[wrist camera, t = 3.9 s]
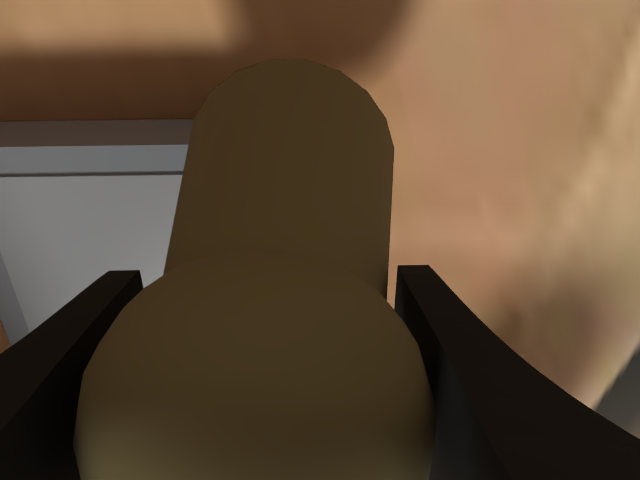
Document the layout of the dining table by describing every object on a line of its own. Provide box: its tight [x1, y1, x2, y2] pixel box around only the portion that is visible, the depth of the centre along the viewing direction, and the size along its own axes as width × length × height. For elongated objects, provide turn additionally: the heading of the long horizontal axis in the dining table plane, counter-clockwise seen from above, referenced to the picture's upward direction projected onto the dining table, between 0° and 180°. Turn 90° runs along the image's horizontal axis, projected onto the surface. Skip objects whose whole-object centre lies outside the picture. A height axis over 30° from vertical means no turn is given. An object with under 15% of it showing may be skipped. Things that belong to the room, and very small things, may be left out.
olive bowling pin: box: [73, 60, 437, 480], centre depth 11 cm, size 6×6×11 cm
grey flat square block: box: [0, 119, 194, 346], centre depth 21 cm, size 11×11×3 cm
